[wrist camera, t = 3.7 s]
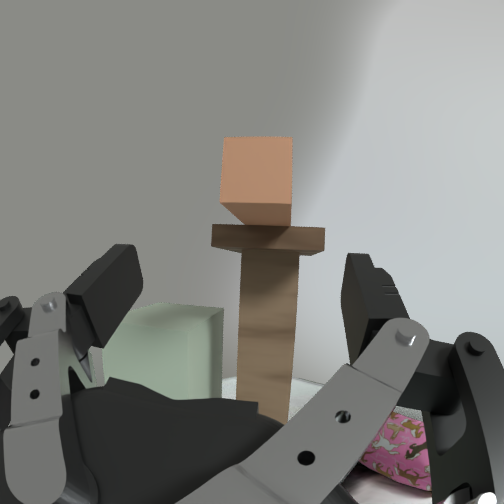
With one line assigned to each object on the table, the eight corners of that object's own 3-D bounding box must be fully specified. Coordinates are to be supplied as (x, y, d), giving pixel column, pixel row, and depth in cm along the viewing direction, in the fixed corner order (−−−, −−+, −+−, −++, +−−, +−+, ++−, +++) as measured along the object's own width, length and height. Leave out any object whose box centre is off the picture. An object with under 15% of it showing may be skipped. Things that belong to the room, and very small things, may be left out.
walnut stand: (227, 437, 42) (233, 238, 43) (301, 442, 40) (318, 241, 42) (202, 498, 26) (201, 224, 27) (303, 508, 25) (336, 228, 26)
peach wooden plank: (260, 238, 41) (261, 208, 41) (289, 239, 40) (290, 209, 40) (219, 202, 17) (224, 137, 17) (291, 203, 16) (292, 137, 16)
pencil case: (463, 471, 24) (484, 421, 25) (439, 507, 19) (465, 455, 20) (356, 433, 42) (365, 389, 42) (319, 454, 37) (328, 407, 37)
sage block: (164, 425, 43) (160, 302, 44) (221, 436, 42) (223, 308, 43) (121, 476, 27) (100, 318, 28) (194, 497, 26) (187, 331, 27)
